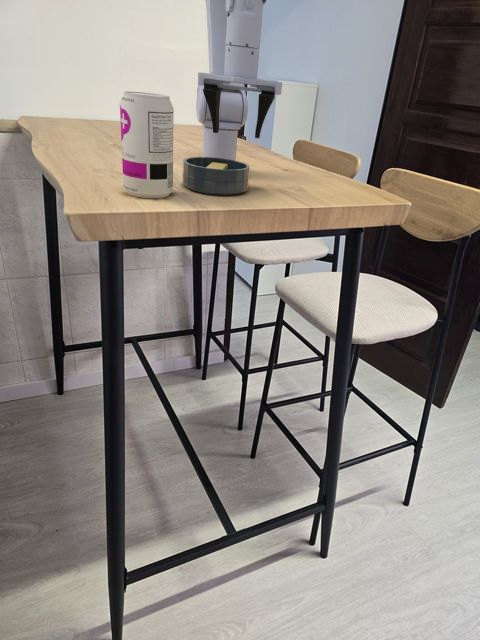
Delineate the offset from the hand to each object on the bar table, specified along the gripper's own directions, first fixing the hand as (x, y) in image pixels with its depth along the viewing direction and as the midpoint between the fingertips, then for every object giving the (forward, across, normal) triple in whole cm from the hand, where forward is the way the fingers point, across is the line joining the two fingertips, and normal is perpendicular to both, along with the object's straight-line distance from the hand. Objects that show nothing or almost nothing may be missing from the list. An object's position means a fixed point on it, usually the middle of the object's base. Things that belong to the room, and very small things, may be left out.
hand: (236, 135), depth 87 cm
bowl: (+9, -3, -2) cm, 10 cm away
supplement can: (+10, -13, -12) cm, 20 cm away
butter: (+9, -3, -2) cm, 10 cm away
